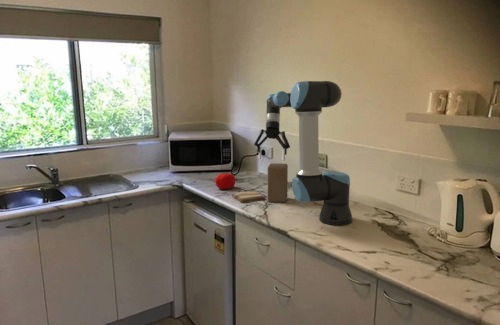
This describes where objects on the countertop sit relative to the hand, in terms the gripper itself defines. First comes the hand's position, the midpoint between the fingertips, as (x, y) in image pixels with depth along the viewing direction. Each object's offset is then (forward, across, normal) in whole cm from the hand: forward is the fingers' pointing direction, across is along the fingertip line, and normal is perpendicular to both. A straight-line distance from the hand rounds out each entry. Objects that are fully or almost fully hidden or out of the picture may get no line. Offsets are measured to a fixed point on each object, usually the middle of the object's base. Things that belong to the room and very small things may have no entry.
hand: (271, 159), depth 214 cm
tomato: (+15, +19, -35) cm, 42 cm away
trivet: (+21, +10, -12) cm, 26 cm away
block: (+22, -6, -4) cm, 23 cm away
